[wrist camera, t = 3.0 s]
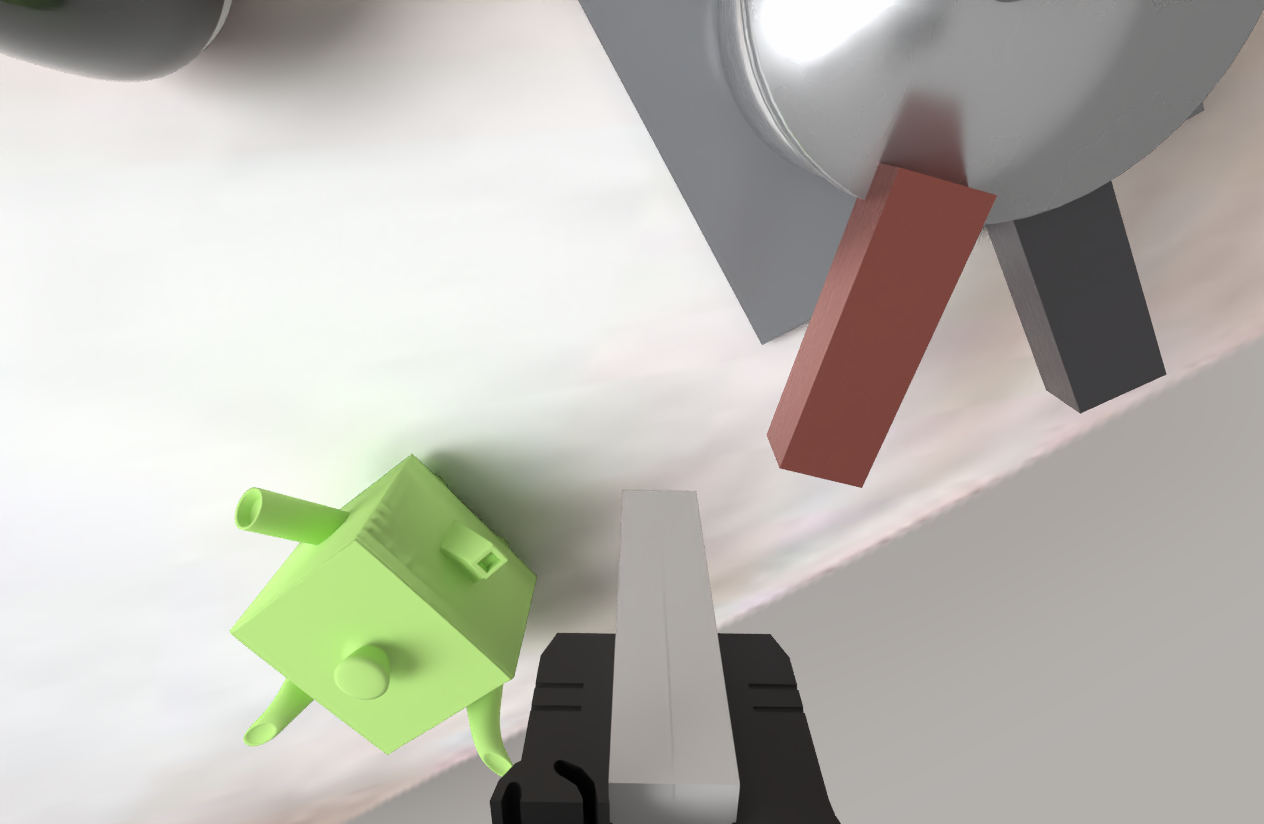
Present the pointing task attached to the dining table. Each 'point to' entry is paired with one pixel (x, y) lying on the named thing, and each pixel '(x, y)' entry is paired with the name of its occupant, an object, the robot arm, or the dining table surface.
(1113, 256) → the pot
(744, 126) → the trivet
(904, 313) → the lid
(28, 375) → the dining table surface
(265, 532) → the kettle
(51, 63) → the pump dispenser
